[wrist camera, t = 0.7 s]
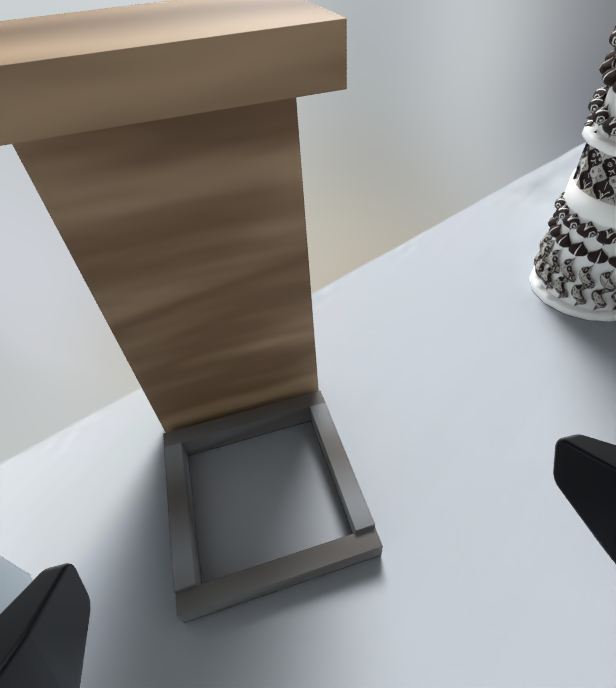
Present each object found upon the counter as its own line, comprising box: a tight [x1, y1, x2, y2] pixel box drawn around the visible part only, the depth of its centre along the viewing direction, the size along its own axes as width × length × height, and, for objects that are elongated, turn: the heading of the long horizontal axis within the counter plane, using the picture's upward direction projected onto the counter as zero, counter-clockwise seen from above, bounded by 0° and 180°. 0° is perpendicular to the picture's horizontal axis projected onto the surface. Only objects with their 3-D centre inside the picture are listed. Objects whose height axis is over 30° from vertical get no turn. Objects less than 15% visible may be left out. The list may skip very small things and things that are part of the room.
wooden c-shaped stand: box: [0, 0, 383, 623], centre depth 18 cm, size 12×10×22 cm
